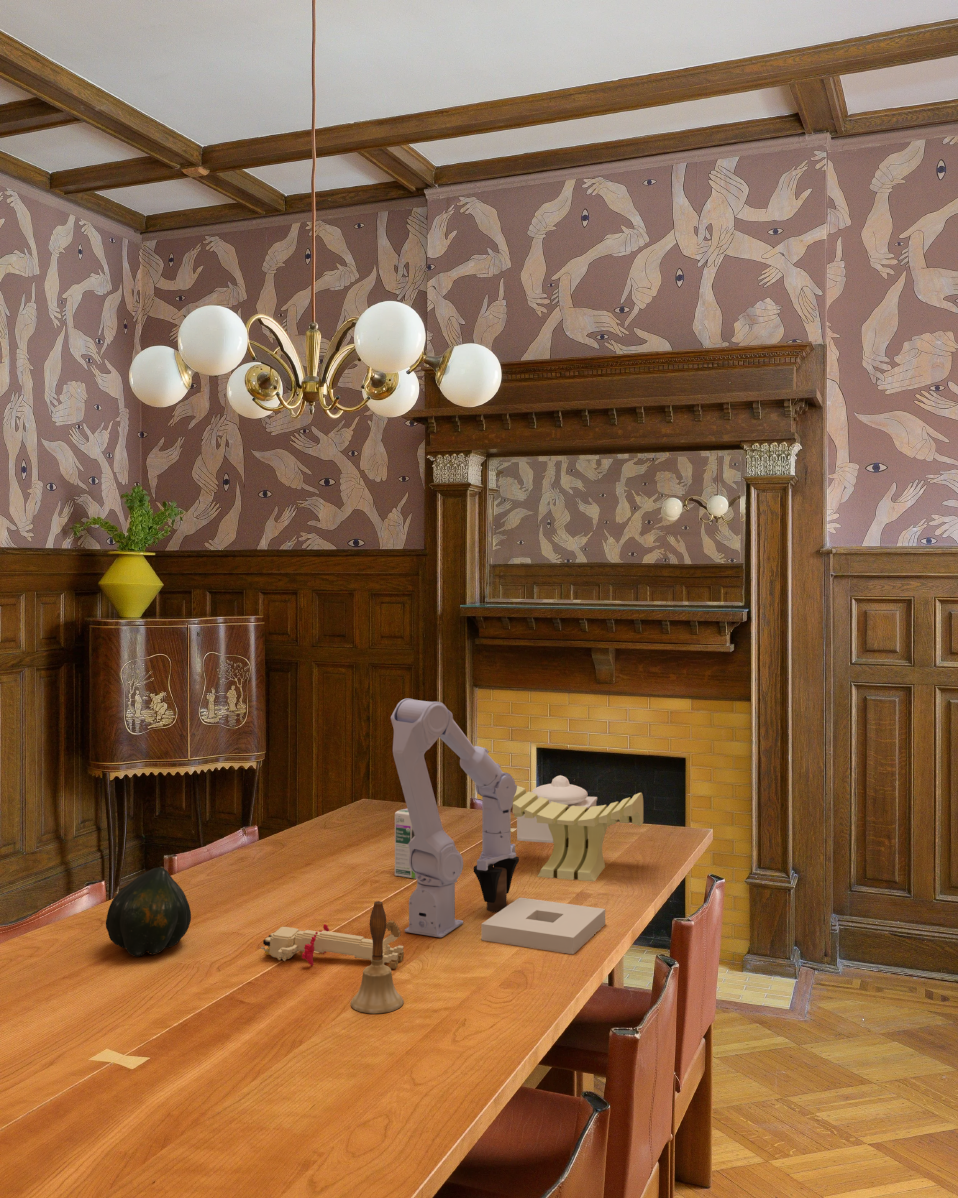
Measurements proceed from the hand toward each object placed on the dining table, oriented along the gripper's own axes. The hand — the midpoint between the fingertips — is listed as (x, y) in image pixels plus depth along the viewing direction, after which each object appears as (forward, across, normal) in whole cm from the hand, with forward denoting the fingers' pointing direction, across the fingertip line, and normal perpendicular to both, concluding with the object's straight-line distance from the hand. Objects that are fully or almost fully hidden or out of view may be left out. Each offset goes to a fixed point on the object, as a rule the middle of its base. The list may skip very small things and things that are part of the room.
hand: (496, 897), depth 211 cm
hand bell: (+3, -51, -2) cm, 51 cm away
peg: (+2, 0, 0) cm, 2 cm away
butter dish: (+3, +64, +11) cm, 65 cm away
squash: (+3, -47, +48) cm, 67 cm away
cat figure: (+3, -38, +15) cm, 41 cm away
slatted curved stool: (+3, +34, -4) cm, 34 cm away
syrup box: (+3, +15, +28) cm, 32 cm away
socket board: (+2, -9, -14) cm, 17 cm away
